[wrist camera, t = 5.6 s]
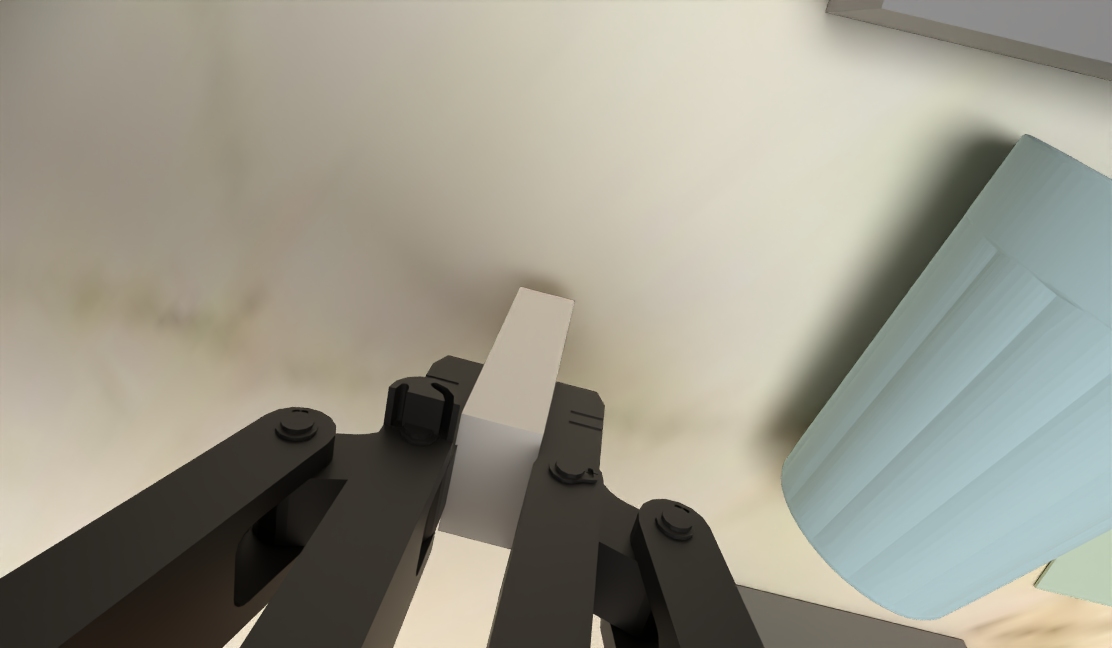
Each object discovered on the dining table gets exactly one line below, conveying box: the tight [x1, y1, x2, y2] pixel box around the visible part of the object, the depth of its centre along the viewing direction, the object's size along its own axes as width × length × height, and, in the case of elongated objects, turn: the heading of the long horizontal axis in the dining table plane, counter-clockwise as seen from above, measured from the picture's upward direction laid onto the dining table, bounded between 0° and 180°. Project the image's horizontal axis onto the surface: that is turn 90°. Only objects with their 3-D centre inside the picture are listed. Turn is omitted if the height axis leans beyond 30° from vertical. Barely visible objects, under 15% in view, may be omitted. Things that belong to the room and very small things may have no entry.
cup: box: [781, 134, 1112, 620], centre depth 16 cm, size 8×8×10 cm
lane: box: [736, 0, 1112, 648], centre depth 18 cm, size 12×21×4 cm, turn 168°
